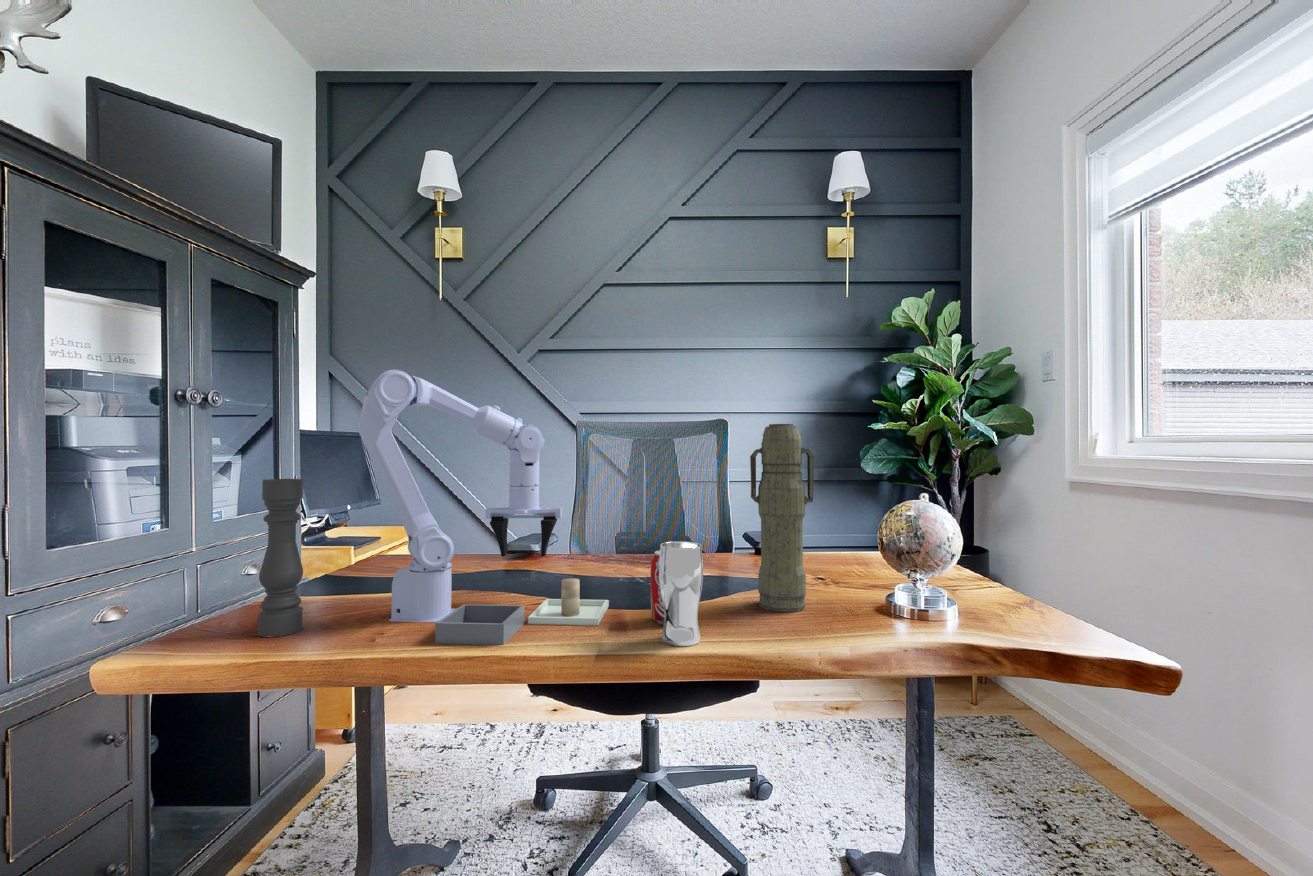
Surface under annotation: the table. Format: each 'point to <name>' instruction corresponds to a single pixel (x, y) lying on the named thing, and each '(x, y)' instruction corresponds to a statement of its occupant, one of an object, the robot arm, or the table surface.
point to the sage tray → (551, 615)
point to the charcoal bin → (480, 624)
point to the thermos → (781, 517)
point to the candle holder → (281, 559)
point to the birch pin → (570, 597)
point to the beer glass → (680, 591)
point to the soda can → (656, 591)
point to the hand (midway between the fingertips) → (523, 555)
